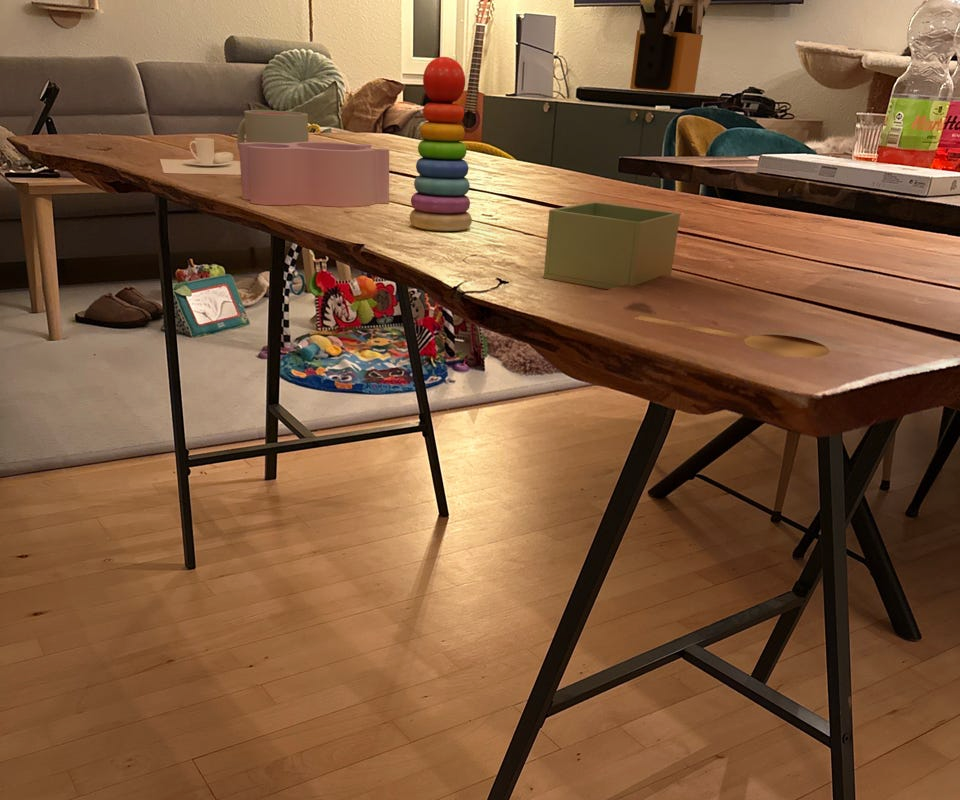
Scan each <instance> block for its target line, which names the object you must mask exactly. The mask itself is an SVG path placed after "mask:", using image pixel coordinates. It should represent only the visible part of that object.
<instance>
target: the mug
mask: <svg viewBox="0 0 960 800" xmlns="http://www.w3.org/2000/svg"><path fill="white" fill-rule="evenodd" d="M243 113H244V118H243V119H242V120H241V121H240V123H239V125H238V128H237V134H236V137H237V138H236V144H237V149H238V150H239V143H248V142H264V143H293V142H310V141H309V118H308V117H309V114H308V113H306V112H305V113H304V112H298V111H289V110H288V111H286V110H271V109H270V110H265V109H249V110H244V111H243Z"/></svg>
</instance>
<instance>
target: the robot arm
mask: <svg viewBox="0 0 960 800" xmlns="http://www.w3.org/2000/svg"><path fill="white" fill-rule="evenodd" d="M711 1H712V0H639V5H640V6H639V9H640V13H641V17H640V21H639V27H638V30H639V32H640V34H641V35H640V41H639V49H638V58H637V66H636V74H635V82H634V85H635V87H636V88H643V89H655V90H668V89H669V87H670V83H671V76H672V69H673V61H674V54H675V47H676V40H677V37H670V36H672V34H673V32H683V33H692V34H700V35H702V31H703V30H702V29H703V19H704V17H705V16H706V10H707V8H708V7H709V5H710V3H711ZM666 3H668V4H667V8H666ZM681 7H682V10H681Z"/></svg>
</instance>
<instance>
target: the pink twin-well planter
mask: <svg viewBox="0 0 960 800" xmlns="http://www.w3.org/2000/svg"><path fill="white" fill-rule="evenodd" d="M238 152H239V161H240V169H241V175H240V181H241V183H240V184H241V196H242V200H245V201H247V200H249V201H250V204H254V205H263V206H292V205H309V206H319V207H336V208H337V207H338V208H339V207H340V208H341V207H345V208H346V207H347V208H350V207H355V208H356V207H367V206H372V205H375V204H383V205H388V204H390V149H387V148H375V147H372V144H370V143H369V144H368V143H362V144H361V143H360V144H359V143H358V144H357V143H346V142H330V141H329V142H328V141H309V142H293V143H264V142H248V143H246V142H245V143H239V149H238Z"/></svg>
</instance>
